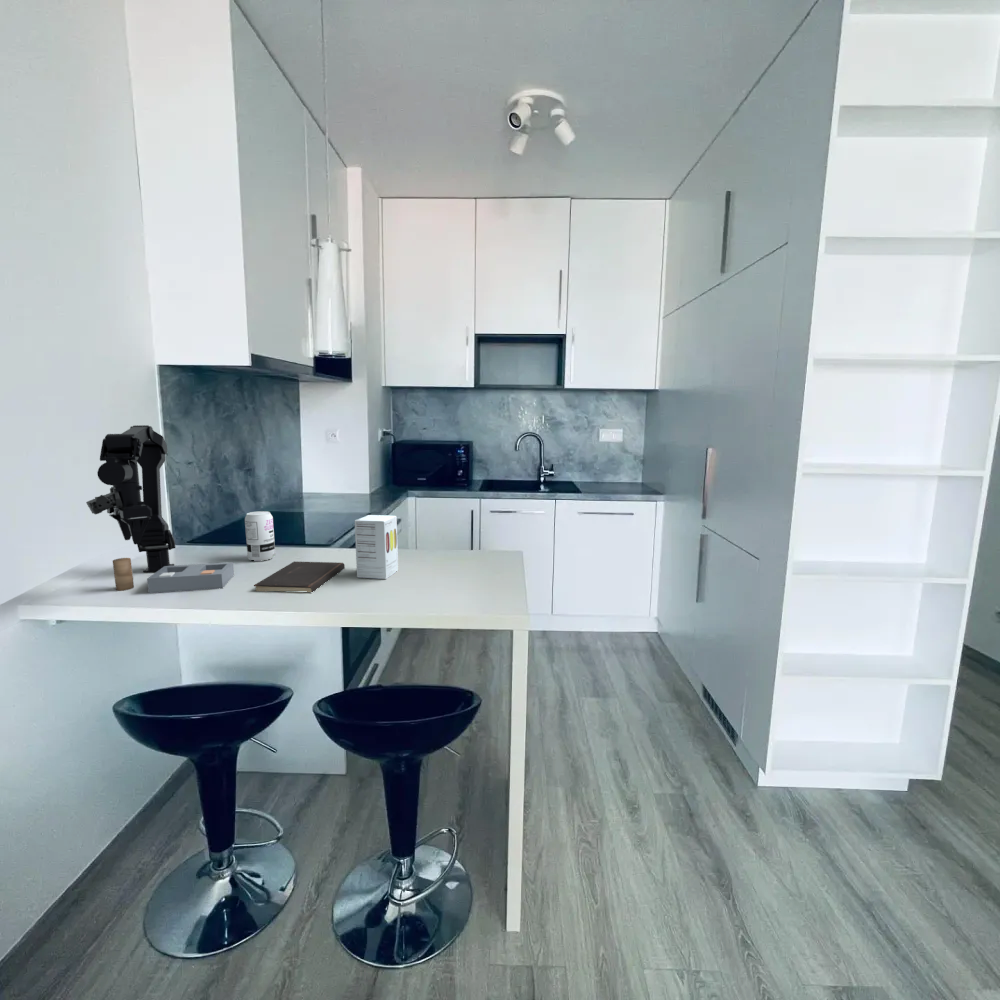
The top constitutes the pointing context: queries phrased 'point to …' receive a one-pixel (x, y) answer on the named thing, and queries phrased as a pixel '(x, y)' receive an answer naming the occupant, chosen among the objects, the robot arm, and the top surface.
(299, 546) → the top surface
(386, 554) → the supplement box
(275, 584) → the hardcover book
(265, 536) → the supplement can
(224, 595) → the top surface
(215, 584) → the socket block
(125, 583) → the walnut peg
